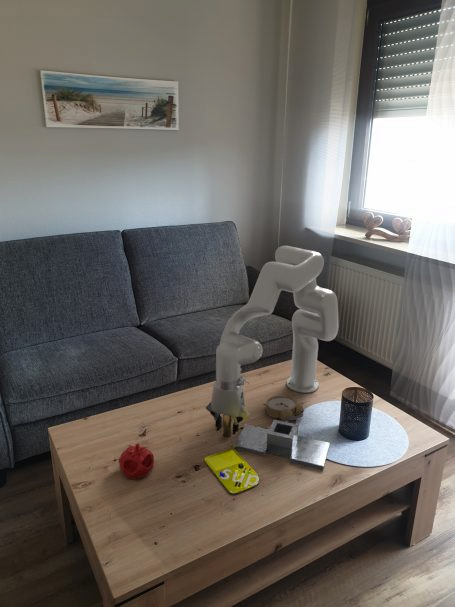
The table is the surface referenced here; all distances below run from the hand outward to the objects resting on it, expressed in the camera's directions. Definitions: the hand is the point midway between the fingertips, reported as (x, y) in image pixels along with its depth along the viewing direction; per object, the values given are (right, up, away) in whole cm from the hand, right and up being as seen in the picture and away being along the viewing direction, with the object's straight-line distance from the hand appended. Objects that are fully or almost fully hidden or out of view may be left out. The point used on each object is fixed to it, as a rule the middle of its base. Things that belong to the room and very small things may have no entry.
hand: (227, 430), depth 158 cm
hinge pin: (0, -2, +1) cm, 2 cm away
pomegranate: (-26, -8, -16) cm, 32 cm away
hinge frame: (+17, -4, -5) cm, 19 cm away
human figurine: (+3, +3, +14) cm, 14 cm away
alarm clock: (+21, +2, +14) cm, 25 cm away
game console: (+2, -9, -16) cm, 18 cm away
